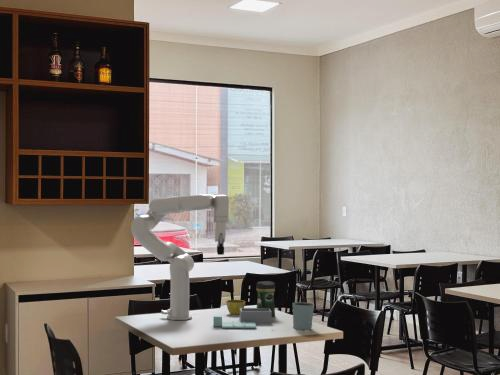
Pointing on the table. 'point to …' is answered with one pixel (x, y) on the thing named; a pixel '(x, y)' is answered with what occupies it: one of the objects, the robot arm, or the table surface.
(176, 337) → the table surface
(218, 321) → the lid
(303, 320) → the grey-blue tapered cup
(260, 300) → the coffee jar
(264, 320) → the tub
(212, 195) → the robot arm
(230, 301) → the flower pot
